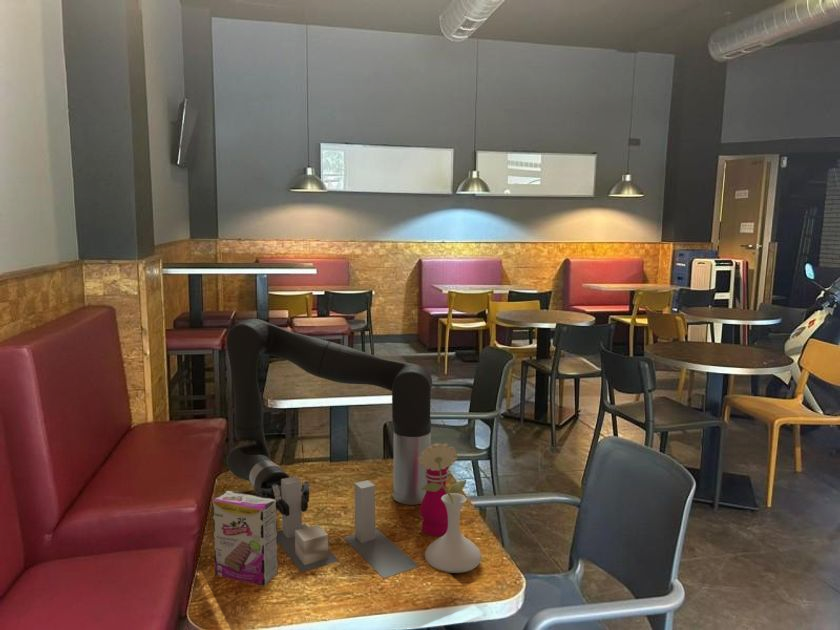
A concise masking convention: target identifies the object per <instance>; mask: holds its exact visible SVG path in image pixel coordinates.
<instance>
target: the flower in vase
mask: <svg viewBox="0 0 840 630" xmlns="http://www.w3.org/2000/svg"><path fill="white" fill-rule="evenodd" d="M435 444H436V443H433V444H432V443H431V447H430V448H429V447H427V448H426V450H424V451H423V452H421V456H422V457H418V461H419V464H422V465H421V467H422V468H425V469H431V471H434V470H437V471H440V481H441V485H440V484H437V483H429V484H427V485H425V486H424V487H423V488H422V489H421V490H427V491H433V492H435V491H438V490H439V489H440V488H441V487H443V488H444V490H445V491H446V493H447V494H446V495H443V496H442V498H441V499H442V501H443V503H444V504H445V506H446V509H447V514H448V529H447V532H446V534H445V535H442V536H439V537H438V538H437V539H435V540H433V542H431V543H430V544H429V545H428V546H427V548H426V550H425V552H424V558H425V560H426V562H427V564H428V565H430V566H431V567H433V568H434V569H436V570H439V571H443V572H446V573H449V574H462V573H466V572H469V571H472V570H474V569H475V568H476V567H478V565H479V564H480V562H481V561H482V553H481V550H480V549H479V547H478V546H476V544H475V543H473V542H472V541H471V540H470V539H469V538H467V537H465V536H464V535H463V534H462V533H461V531H460V530H461V529H460V517H461V516H460V515H461V513H462V508H463V506H464V504H465V503H466V502H467V497H466V496H465V495H463V494H461V493H459V492H461V491H462V490H463V489H464V488H465V486H466V483H467V479H465V480H462V481H458V482H455V483H452V485H451V486H450V489H449V490H447V487H446V488H445V487H444V485H443V483H442V476H441V469H445V468H446V467H449V468H450V467H452V466H453V464H454V463H456V461H457V459H458V453H457V452H456V449H455V447H454V446H448V445H449V444H448V443H443V444H442V443H437V444H438V445H437V446H436V445H435Z"/></svg>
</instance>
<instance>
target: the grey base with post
mask: <svg viewBox="0 0 840 630" xmlns="http://www.w3.org/2000/svg"><path fill="white" fill-rule="evenodd" d="M342 539H343V540H345V542H346V543H347V544H348V545H349V546H350V547H352V549H353V550H355V552H357V554H358V555H359V556H360V557H362V558H363V560H364V561H366V563H367V564H368V565H369V566H371V568H372V569H374V571H376V573H377V574H378V575H380V577H381V578H382V579H386V578H389V577H392V576H395V575H398V574H400V573H404V572H407V571H411V570H414V569H417V568H420V565H419V564H418V563H417V562H415V561H414V560H413V559H412V558H411V557H410V556H408V555H407V554H406V553H405V552H404V551H403V550H401V548H399V546H398V545H396V544H395V543H394V542H393V541H391V540H390V539H389V538H388V537H386V535H384V534H383V533H382V532H381V531H380V530H379V529H377V528H376V484H374V483H373V482H371V481H370V480H368V479H367V480H362V481H359V482H354V534H351V535H349V536H344V537H342Z"/></svg>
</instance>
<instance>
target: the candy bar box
mask: <svg viewBox="0 0 840 630" xmlns="http://www.w3.org/2000/svg"><path fill="white" fill-rule="evenodd" d="M212 518H213V519H212V521H213V544H214V547H213V548H214V570H215V571H214V572H215V573H214V574H215V575H217V576H220V577H224V578H228V579H231V580H237V581H241V582H245V583H251V584H256V585H260V586H261V585H262V586H265V585H267V584H268V583H269V582H270V581H271V580H272V579H274V577H276V576H277V574H278V573H279V567H278V565H279V564H278V542H277V531H278V526H277V525H278V523H277V510H276V500H274V499H269V498H263V497H258V496H252V494H246V493H241V492H236V491H230V490H227V491H225V492H223V493H222V494H220V495H219V496H217V497H215V498H214V499H213V500H212Z"/></svg>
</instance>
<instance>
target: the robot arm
mask: <svg viewBox="0 0 840 630" xmlns="http://www.w3.org/2000/svg"><path fill="white" fill-rule="evenodd" d="M225 339H226V348H227V355H228V360H229V365H230V372H231V373H230V374H231V377H232V378H231V380H232V387H233V400H234V403H233V405H234V407H233V408H234V412H233V413H234V434H235V436H236V437H237V438H238V439H240V440H249V441H253V443H252V444H245V445H239V446H235V447H233V448H232V449H231V450H229V452H228V453H227V456H226V464H227V467H228V470H229V471H230V473H231V474H232V475H234V476H236V477H237V478H239V479H241V480H245V481H248V482H249V483H250V484H251V487H252V489H253V490H254V491H255V492H252V493H251V495H252V496H258V497H263V498H269V499H274V500H276V512H277V511H278V512H279V513H280V514H281V515H282V514H284V515H285V516H289V505H288V504H287V503H286V502H285V501H284V500H282V491H281V479H284V478H289V477H290V475H289V474H288V473H287V472H286V471H285V470H283V468H282V467H280V466H279V465H278V464H277V463H275V462H273V461H272V460H271V454H270V450H269V447H268V444H267V441H266V437H265V433H264V404H263V398H262V394H261V390H260V387H259V383H258V362H259V356H260V355H267V356H271V357H277V358H280V359H284V360H286V361H288V362H290V363H293V364H294V365H296V366H297V367H299V368H300V369H301V370H303V371H305V372H306V373H308V374H310V375H312V376H314V377H317V378H321V379H324V380H326V381H327V380H328V381H332V382H335V383H340V384H347V385H369V386H370V385H371V386H374V387H375V386H376V387H378V388H383V389H385V390H388V391H391V409H392V411H391V413H392V414H391V417H392V418H391V419H392V424H393V499H394V500H395V501H396V502H397V503H400V504H402V505H406V506H407V505H408V506H409V505H411V506H412V505H413V506H414V505H421V503H422V500H423V498H424V496H425V494H426V491H427V490H421V489H422V488H423V487H424V486H425V485H427V484H428V483H427V479H426V478H425V476H426V474H425V472H426V471H427V470H426V469H425V468H422V467H421V465H422V464H419V461H418V457H422V456H421V452H423V451H424V450H426V448H427V447H429V448H430V447H431V445H432V441H431V440H432V433H431V431H432V421H431V420H432V419H431V391H432V387H433V378H432V374H430V372H429V370H428V369H426V368H425V367H423V366H421V365H419V364H416V363H411V362H410V363H409V362H403V361H398V360H392V359H387V358H383V357H379V356H376V355H374V354H370V353H368V352H365V351H362V350H359V349H356V348H353V347H349V346H347V345H344V344H339V343H337V342H332V341H329V340H325V339H322V338H321V339H320V338H318V337H313V336H309V335H307V334H306V335H305V334H303V333H302V334H301V333H296V332H293V331H290V330H287V329H284V328H282V327H280V326H278V325H274V324H273V323H270V322H267V321H265V320H263V319H259V318H247V319H245V320H242V321H241V322H238V323H237V324H234V325H233V326H232V327H231V328H230V329H229V330H228V333H227V334H226V338H225ZM309 502H310V481H308V480H307V481H304V482H303V483H301V511H302V513H304V512H307V510H308V507H309V504H308V503H309Z"/></svg>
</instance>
